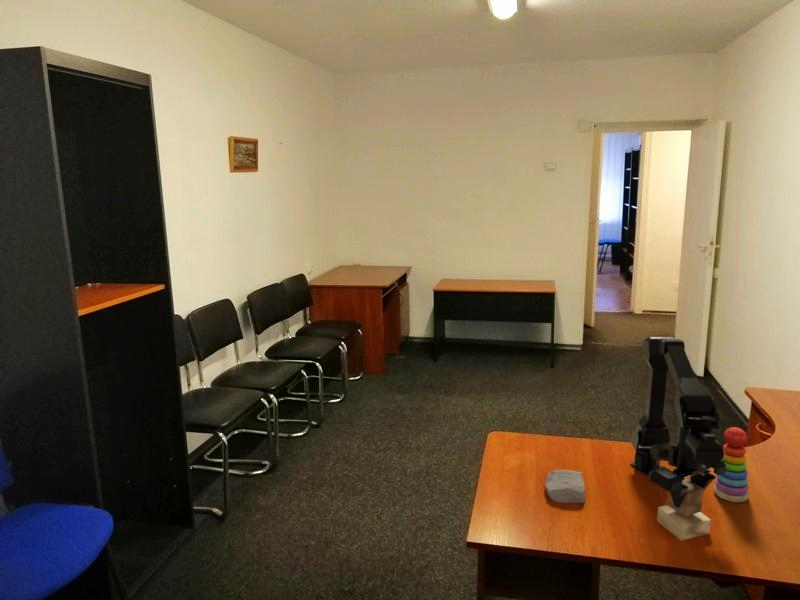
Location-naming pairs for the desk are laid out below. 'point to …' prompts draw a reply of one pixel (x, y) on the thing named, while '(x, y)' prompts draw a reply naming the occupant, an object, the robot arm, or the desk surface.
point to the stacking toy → (733, 468)
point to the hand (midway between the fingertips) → (684, 503)
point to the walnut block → (689, 500)
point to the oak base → (683, 523)
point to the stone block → (565, 486)
